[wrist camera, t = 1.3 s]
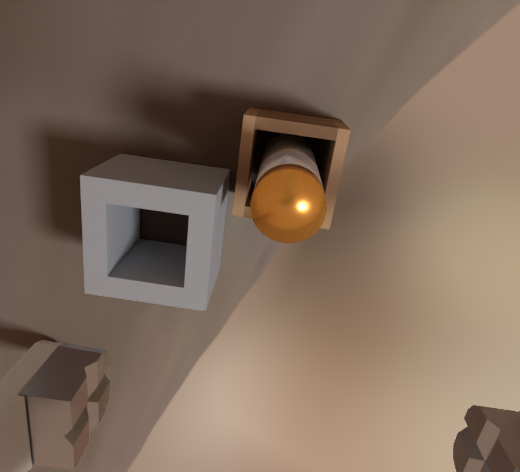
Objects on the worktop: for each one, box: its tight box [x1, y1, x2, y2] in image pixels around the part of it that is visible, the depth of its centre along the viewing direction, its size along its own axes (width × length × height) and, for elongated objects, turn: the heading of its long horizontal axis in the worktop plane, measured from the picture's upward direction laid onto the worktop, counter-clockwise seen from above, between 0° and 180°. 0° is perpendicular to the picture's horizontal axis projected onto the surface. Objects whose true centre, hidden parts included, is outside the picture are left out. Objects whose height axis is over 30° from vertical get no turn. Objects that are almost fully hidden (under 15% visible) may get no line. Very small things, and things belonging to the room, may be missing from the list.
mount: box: [232, 107, 351, 229], centre depth 30 cm, size 7×7×5 cm
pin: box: [250, 134, 327, 243], centre depth 27 cm, size 4×4×12 cm
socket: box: [80, 154, 230, 311], centre depth 32 cm, size 9×9×7 cm
